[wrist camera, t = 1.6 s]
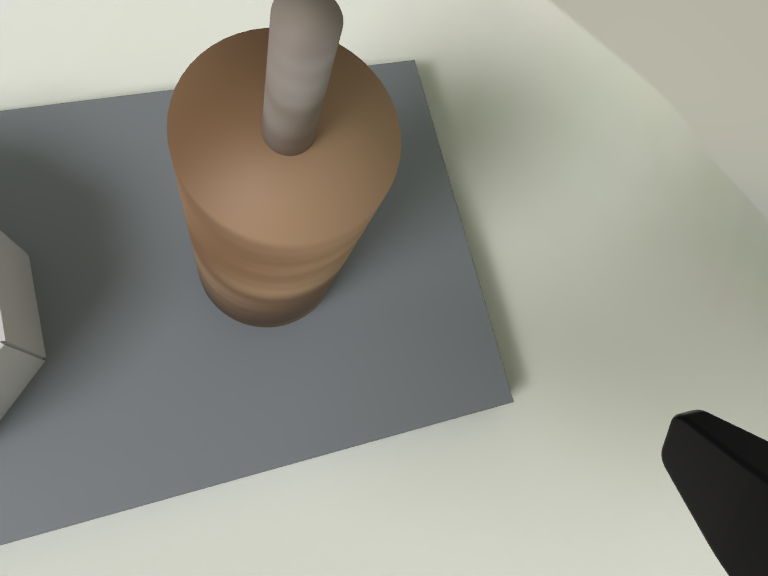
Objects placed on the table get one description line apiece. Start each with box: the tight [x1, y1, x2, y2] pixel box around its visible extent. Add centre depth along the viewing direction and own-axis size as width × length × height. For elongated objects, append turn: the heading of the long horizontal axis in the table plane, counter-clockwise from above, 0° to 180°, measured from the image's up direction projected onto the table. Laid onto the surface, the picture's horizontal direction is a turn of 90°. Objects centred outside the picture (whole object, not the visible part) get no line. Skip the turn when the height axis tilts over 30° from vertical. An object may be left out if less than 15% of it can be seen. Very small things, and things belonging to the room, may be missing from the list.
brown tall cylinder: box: [167, 0, 401, 327], centre depth 15 cm, size 4×4×13 cm
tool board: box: [0, 60, 514, 545], centre depth 19 cm, size 25×13×4 cm, turn 105°
